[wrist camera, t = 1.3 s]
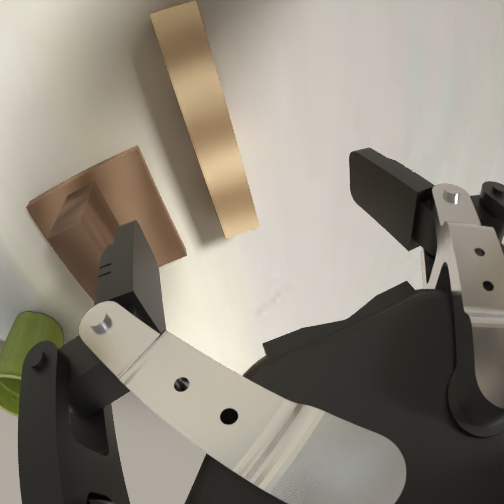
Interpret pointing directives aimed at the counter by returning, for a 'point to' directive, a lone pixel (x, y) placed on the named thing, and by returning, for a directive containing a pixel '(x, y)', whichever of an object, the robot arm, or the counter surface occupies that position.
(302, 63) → the counter surface
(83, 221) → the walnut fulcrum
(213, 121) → the light tan wooden bar
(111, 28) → the counter surface
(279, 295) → the counter surface
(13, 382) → the plant pot
